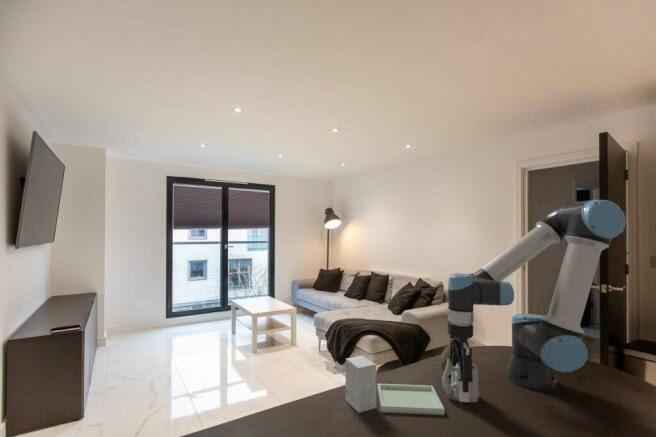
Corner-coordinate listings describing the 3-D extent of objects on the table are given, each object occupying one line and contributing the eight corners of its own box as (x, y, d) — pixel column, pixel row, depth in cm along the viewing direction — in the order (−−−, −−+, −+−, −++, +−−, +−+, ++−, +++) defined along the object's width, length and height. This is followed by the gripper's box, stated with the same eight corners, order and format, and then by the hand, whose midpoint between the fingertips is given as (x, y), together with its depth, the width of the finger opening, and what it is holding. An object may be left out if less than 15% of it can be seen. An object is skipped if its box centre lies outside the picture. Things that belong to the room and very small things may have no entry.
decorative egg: (439, 375, 123) (439, 348, 123) (441, 368, 130) (441, 342, 130) (460, 379, 121) (460, 351, 121) (461, 371, 127) (461, 344, 127)
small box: (376, 408, 101) (376, 364, 101) (358, 413, 98) (358, 368, 98) (362, 395, 108) (362, 354, 108) (344, 400, 106) (345, 358, 106)
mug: (484, 402, 105) (484, 363, 105) (447, 404, 104) (447, 364, 104) (472, 390, 112) (472, 354, 113) (437, 391, 112) (437, 354, 112)
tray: (432, 391, 112) (432, 385, 112) (444, 415, 98) (444, 408, 98) (377, 389, 113) (377, 383, 113) (381, 412, 99) (381, 406, 99)
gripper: (439, 313, 119) (439, 379, 119) (458, 332, 99) (458, 411, 99) (461, 314, 119) (461, 380, 118) (485, 333, 98) (484, 412, 98)
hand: (459, 394), depth 108 cm, fingers closed on mug, 7 cm apart
